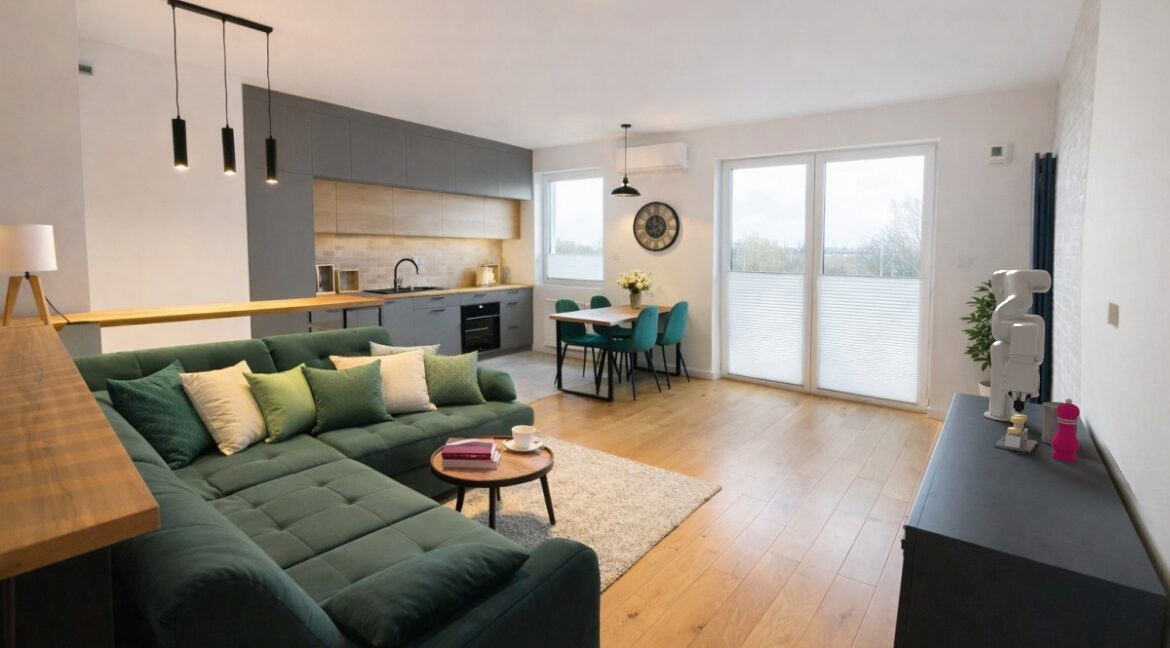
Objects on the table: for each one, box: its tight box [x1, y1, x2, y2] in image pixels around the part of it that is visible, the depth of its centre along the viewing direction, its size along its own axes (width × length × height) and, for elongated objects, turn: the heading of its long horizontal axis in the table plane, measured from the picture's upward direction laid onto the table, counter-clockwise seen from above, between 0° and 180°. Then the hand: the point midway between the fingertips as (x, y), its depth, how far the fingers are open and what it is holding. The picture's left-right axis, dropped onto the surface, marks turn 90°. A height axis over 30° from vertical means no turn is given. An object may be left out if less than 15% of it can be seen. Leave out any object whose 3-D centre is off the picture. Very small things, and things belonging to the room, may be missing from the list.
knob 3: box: [1014, 413, 1028, 430], centre depth 216 cm, size 4×4×6 cm
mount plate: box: [994, 427, 1038, 454], centre depth 213 cm, size 14×10×5 cm
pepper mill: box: [1050, 398, 1081, 462], centre depth 199 cm, size 7×7×20 cm
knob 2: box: [1006, 426, 1022, 436], centre depth 210 cm, size 4×4×6 cm
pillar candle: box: [1041, 401, 1078, 445], centre depth 215 cm, size 10×10×15 cm
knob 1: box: [1010, 417, 1026, 429], centre depth 213 cm, size 4×4×6 cm
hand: (1018, 411), depth 212 cm, fingers closed
